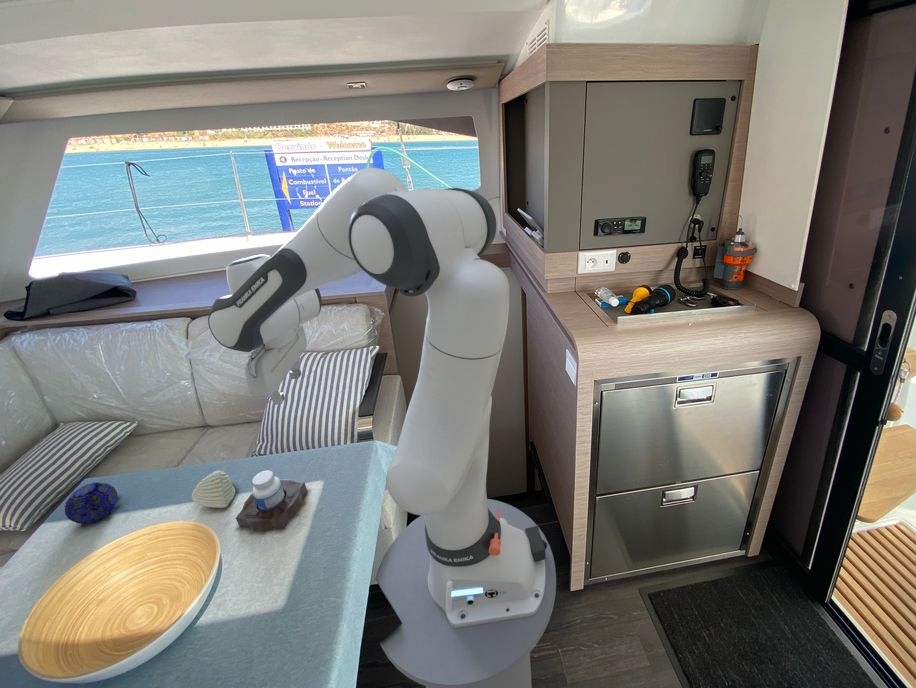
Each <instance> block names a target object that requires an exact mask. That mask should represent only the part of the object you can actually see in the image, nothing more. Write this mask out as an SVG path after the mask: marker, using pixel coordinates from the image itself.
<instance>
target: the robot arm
mask: <svg viewBox="0 0 916 688" xmlns="http://www.w3.org/2000/svg"><path fill="white" fill-rule="evenodd" d="M497 223H498V222H497V218H496V214H495V211H494V208H493V207H492V205H491V203H490V202H489V201H488V200H487V198H485V197H484V196H483V195H481V194H480V193H478V192H475V191H473V190H470V189H467V188H459V187H450V188H449V187H448V188H442V189H441V188H435V189H433V188H432V189H431V188H419V189H412V190H408V188H407V186H406V185H405V184H404V182H402V180H401V179H399V177H397V176H396V175H395V174H393V173H392V172H390V171H388V170H386V169H383V168H379V167H365V168H362V169H359V170H357V171H356V172H354V173H353V174H351V176H350V175H349V177H347V178H346V179H345V180H344V181H343V182H342V183H340V184H339V185H338V186H337V187H336V188H335V189H333V190H332V191H331V193H330V194H329V195H328V196H327V197H326V199H325V200H324V201H323V202H322V203H321V205H320V206H319V207H318V208H317V209H316V210H315V212H314V213H313V215H311V217H310V218H308V220H307V221H306V222H305V223H304V224H303V225H302V226H301V228H300V229H298V231H297V232H296V233H295V234H293V236H292V237H291V238H290V239H289V240H287V242H286V243H284V244H283V245H282V246H281V247H280V248H279V249H278V250H277V251H276V252H275V253H273V255H272V256H270V255H268V254H264V253H263V254H262V253H261V254H255V255H251V256H247V257H244V258H240V259H237V260H233V261H232V262H230V263H229V264H228V265H226V269H225V273H226V280H227V286H228V289H229V294H228V295H225V296H221V297H219V298H216V299H215V300H214V302H213V303H212V305H211V308H210V310H209V313H208V316H207V317H208V318H207V324H208V328H209V330H210V333H211V335H212V336H213V338H214V339H215V340H216V342H218V343H219V344H220V345H221V346H222V347H224V348H227V349H230V350H233V351H238V352H241V353H242V352H243V353H249V354H248V356H247V358H248V359H247V360H246V361H245V363H244V375H245V380H246V384H247V388H248V391H249V394H250V395H251V396H252V397H253V398H255V399H256V398H257V399H258V398H267V397H268V398H269V399H271V402H272V404H273V405H276V406H277V405H282V404H283V403H284V401H285V399H286V398H285V395H284V392H280V391H279V390H280V387H279V386H280V385H281V384H282V382H283V381H284V380H285V378H286V377H287V375H288V374H289V375H290V378H291V379H292V380H297V379H298V380H299V379H300V377H301V376H302V370H301V363H302V362H301V361H302V360H301V356H302V355H303V354H304V352H306V349H307V337H306V333H305V329H304V324H306V323H308V322H310V321H312V320H314V319H315V318H317V317H319V315H320V312H321V311H322V303H323V302H322V301H323V300H322V294H321V292H320V288H322V287H325V286H328V285H331V284H333V283H336V282H339V281H342V280H344V279H348V278H349V277H352V276H354V275H356V274H358V273H360V272H362V271H363V272H365V273H366V275H368V276H369V277H370V278H372V279H373V280H375V281H377V282H378V283H380V284H382V285H383V286H387V287H391V288H395V289H396V290H397V291H398V292H399V293H400V294H402V295H403V296H407V297H418V296H420V295H423V294H425V297H426V299H427V316H426V320H425V321H426V322H425V329H424V336H423V343H422V349H421V356H420V363H419V370H418V371H419V372H418V375H417V379H416V383H415V386H414V389H413V392H412V395H411V398H410V401H409V403H408V407H407V411H406V413H405V417H404V420H403V424H402V427H401V430H400V435H399V439H398V442H397V445H396V449H395V451H394V454H393V457H392V459H391V462H390V464H389V467H388V469H387V472H386V476H385V485H386V489H387V491H388V493H389V496H390V497H391V499H392V500H393V501H394V503H395V504H396V505H397V506H398V507H399V508H401V509H402V510H404V511H406V512H407V513H410V514H412V515H416V516H421V515H424V517H425V522H426V525H425V539H426V544H427V548H428V551H429V553H430V569H429V573H428V588H429V592H430V594H431V597H432V598H433V600H434V601H435V603H436V604H437V605H438V606H440V607H441V608H442V609H443V610H444V612H445V613H446V616H447V619H448V621H449V623H450V625H451V626H452V627H454V628H459V627H466V626H472V625H478V624H484V623H490V622H497V621H503V620H509V619H515V618H522V617H528V616H532V615H535V614H536V612H537V611H538V609H539V608H540V606H541V603H542V600H543V597H544V592H545V584H546V568H545V561H544V560H545V550H546V548H547V543H546V542H545V541H544V540H542V538H541V535H540V532H539V529H540V528H539V529H538V527H539V525H537V526H534V527H530V528H526V529H525V533H524V531H522V530H521V529H518V528H516V527H513V526H511V525H509V524H507V521H506V520H505V519H503V518H500V512H499V509H498V512H497V519H496V518H495V517H494V516H493V514H492V513H491V511H490V510H489V509H488V505H487V499H488V496H487V473H488V462H489V447H490V423H491V415H492V405H493V397H492V392H493V390H494V386H495V381H496V377H497V373H498V369H499V365H500V361H501V356H502V353H503V347H504V344H505V340H506V335H507V329H508V323H509V314H510V294H511V293H510V282H509V279H508V277H507V275H506V274H505V272H504V271H503V270H502V269H501V268H500V267H499V266H497V265H496V264H494V263H492V262H490V261H488V260H485V259H481V257H480V256H482V255H483V254H484V253H485V252H486V251H487V250H488V249H489V248H490V247H491V245H492V244H493V242H494V240H495V237H496V234H497V226H498V224H497ZM410 291H412V292H410ZM535 596H539V597H538V598H535ZM507 611H509V612H507ZM462 616H465V618H464V619H461V617H462Z"/></svg>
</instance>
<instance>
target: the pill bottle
mask: <svg viewBox="0 0 916 688" xmlns="http://www.w3.org/2000/svg"><path fill="white" fill-rule="evenodd" d="M280 480H281V479H280V478H278V477H277V476H275V474H274V472H273V471H272V470H268V469H267V470H262V471H260V472H258V473H256V474H255V476H253V478H252V485H253V487H252V493H253V495H254V498H255V500H256V503H257V505H258V507H259V510H260V511H268V510H271V509H273V508H275V507H277V506H279V505H280V504H281V503H282V502H283V501H284V499H285V498H286V496H285V494H284V491H283V488H282V485H281V482H280Z"/></svg>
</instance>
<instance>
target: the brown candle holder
mask: <svg viewBox="0 0 916 688" xmlns="http://www.w3.org/2000/svg"><path fill="white" fill-rule="evenodd" d="M279 480H280V482H281V485H282V488H283V491H284V494H285V496H286V498H285V499H284V501H283V502H282V503H281V504H280V505H279V506H277V507H275V508H273V509H271V510H268V511H260V510H259V507H258V505H257V503H256V500H255V498H254V495H253V492H252V493H251V494H250V495H249V496H248V498H247V499H246V500H245V501H244V503H243V506H242V509H241V510H240V512H239V513H238V514H237V515H236V517H235V520H236V523H237V525H238V527H239V528H240V529H250V530H251V531H253V532H267V531H271V530H284V529H285V528H286V526H287V524H288V522H289V521H290V520H291V519H292V518H294V517H295V516H296V514H298V512H299V511H300V508H301V507H302V505H303V499H304V498H305V496H306V495H307V493H308V489H307V488H308V487H307V486H306V483H305V482H304V481H295V480H292V479H288V478H287V479H285V478H284V479H283V478H281V479H279Z"/></svg>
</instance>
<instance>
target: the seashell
mask: <svg viewBox="0 0 916 688" xmlns="http://www.w3.org/2000/svg"><path fill="white" fill-rule="evenodd" d="M235 495H236V489H235V486H234V485H233V483H232V480H231V478H230V476H229V475H228V474H227V473H226V472H225V471H224V470H219V469H218V470H215V471H213V472H212V473H210V474H208V475H207V476H206V477H204V478H203V479H202V480H200V481H199V483H197V484H196V486H195V488H194V489H193V491H192V493H191V499H192V501H193V502H194V503H195V504H197V505H199V506H202V507H207V508H213V509H225V508H227V507H228V506H229V505H230V504H231V503H232V501H233V500H234V498H235Z"/></svg>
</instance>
